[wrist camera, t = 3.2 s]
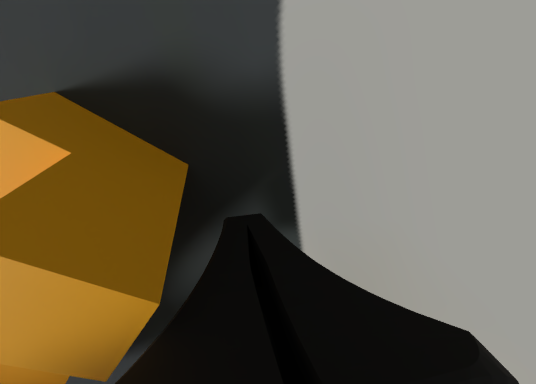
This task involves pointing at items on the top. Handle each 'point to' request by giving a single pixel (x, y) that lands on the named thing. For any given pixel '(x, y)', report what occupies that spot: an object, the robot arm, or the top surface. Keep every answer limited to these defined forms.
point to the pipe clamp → (78, 239)
